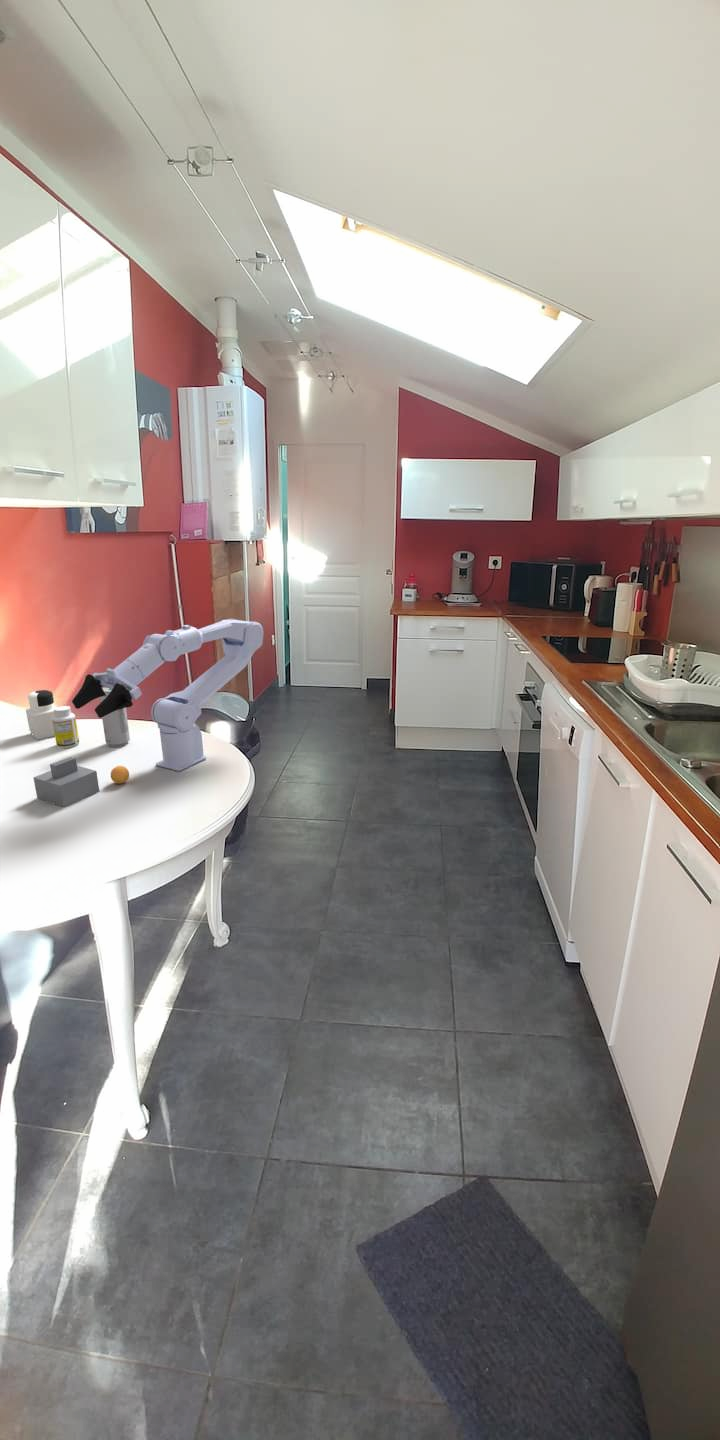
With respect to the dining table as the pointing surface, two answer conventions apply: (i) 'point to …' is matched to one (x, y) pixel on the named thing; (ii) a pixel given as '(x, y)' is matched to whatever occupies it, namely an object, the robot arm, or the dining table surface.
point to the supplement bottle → (65, 727)
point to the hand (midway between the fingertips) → (85, 709)
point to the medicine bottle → (41, 714)
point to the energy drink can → (115, 725)
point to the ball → (120, 774)
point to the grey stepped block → (66, 783)
